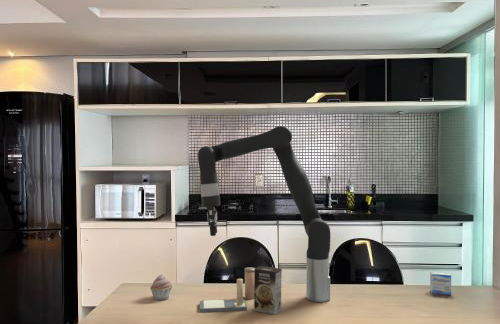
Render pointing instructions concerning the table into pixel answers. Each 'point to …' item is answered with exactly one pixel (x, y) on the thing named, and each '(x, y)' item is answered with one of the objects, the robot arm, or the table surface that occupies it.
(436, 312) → the table surface
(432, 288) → the medicine box
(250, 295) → the spice jar
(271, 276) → the coffee box
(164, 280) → the cupcake
